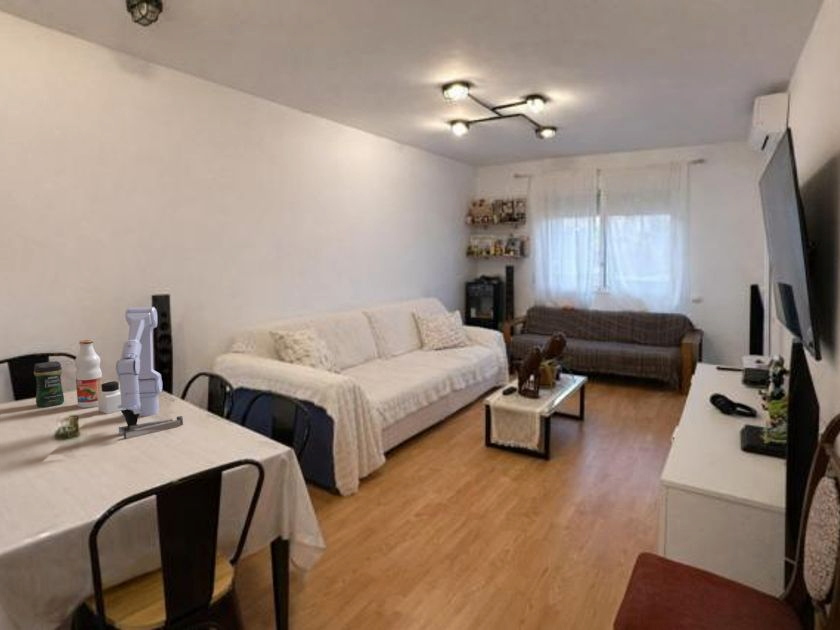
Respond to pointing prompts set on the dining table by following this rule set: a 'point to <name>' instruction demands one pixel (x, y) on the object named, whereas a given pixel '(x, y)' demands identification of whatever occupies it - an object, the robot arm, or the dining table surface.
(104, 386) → the medicine bottle
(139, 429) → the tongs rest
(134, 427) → the hinged tong arm
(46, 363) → the coffee jar
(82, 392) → the fruit juice
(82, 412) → the dining table surface
